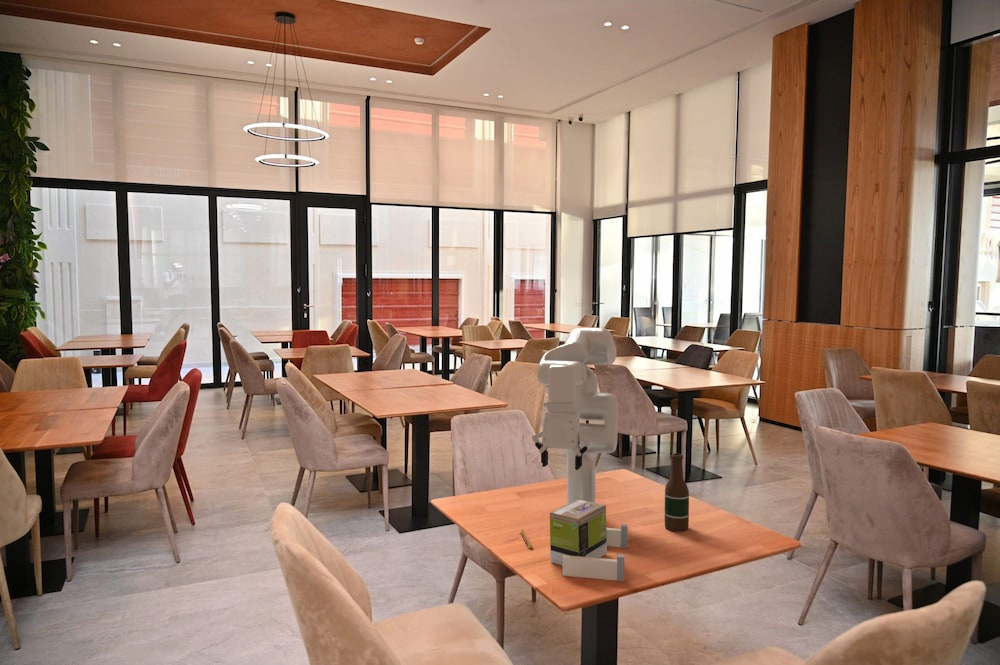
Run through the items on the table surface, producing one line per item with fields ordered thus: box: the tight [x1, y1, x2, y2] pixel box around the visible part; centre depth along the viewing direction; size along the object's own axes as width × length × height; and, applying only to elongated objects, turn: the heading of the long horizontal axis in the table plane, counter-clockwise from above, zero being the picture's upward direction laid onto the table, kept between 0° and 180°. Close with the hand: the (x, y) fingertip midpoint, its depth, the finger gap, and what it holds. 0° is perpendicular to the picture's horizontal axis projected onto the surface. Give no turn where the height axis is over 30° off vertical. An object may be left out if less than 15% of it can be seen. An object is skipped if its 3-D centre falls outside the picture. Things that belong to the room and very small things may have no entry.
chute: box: [562, 523, 629, 582], centre depth 189 cm, size 25×16×6 cm, turn 167°
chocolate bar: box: [519, 528, 535, 549], centre depth 204 cm, size 3×12×2 cm, turn 10°
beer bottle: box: [664, 453, 690, 533], centre depth 214 cm, size 8×8×24 cm
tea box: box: [549, 499, 608, 567], centre depth 190 cm, size 15×10×15 cm, turn 141°
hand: (561, 467), depth 190 cm, fingers open, 9 cm apart
